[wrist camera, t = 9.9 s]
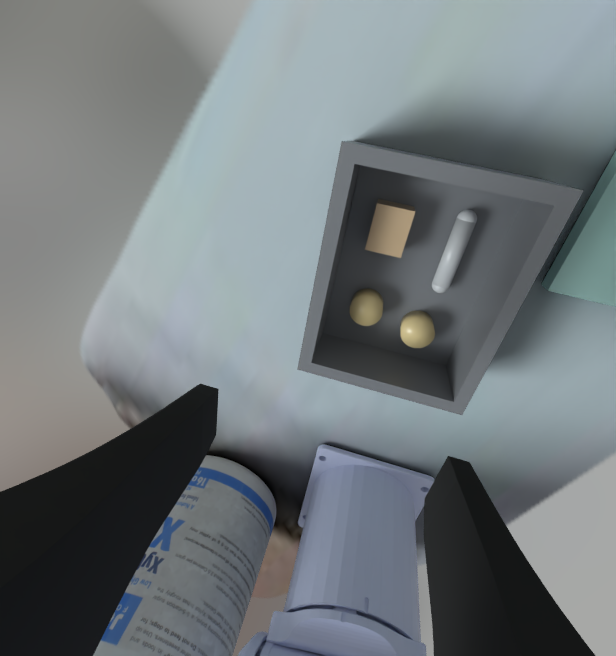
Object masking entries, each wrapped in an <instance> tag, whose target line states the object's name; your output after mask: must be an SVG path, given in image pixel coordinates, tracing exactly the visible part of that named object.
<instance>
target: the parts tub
mask: <svg viewBox="0 0 616 656" xmlns="http://www.w3.org/2000/svg"><path fill="white" fill-rule="evenodd" d="M582 193H583V190H580V189H576V188H573V187H569V186H566V185H562V184H558V183H555V182H551V181H548V180H544V179H539V178H534V177H529V176H525V175H520V174H515V173H510V172H505V171H500V170H495V169H490V168H485V167H480V166H475V165H470V164H465V163H460V162H455V161H450V160H445V159H440V158H435V157H431V156H426V155H421V154H416V153H411V152H406V151H401V150H396V149H391V148H386V147H381V146H376V145H371V144H366V143H361V142H356V141H342V142H341V148H340V153H339V158H338V163H337V168H336V173H335V178H334V184H333V189H332V194H331V199H330V204H329V209H328V215H327V220H326V225H325V230H324V235H323V240H322V245H321V251H320V256H319V261H318V266H317V271H316V276H315V281H314V287H313V292H312V297H311V302H310V307H309V312H308V317H307V323H306V328H305V333H304V338H303V343H302V348H301V354H300V359H299V364H298V370H302V371H305V372H309V373H312V374H316V375H320V376H323V377H327V378H330V379H334V380H338V381H341V382H345V383H348V384H352V385H355V386H359V387H363V388H366V389H370V390H373V391H377V392H381V393H384V394H388V395H391V396H395V397H399V398H402V399H406V400H409V401H413V402H417V403H420V404H424V405H427V406H431V407H435V408H438V409H442V410H445V411H449V412H453V413H456V414H460V415H462V414H463V412H464V411H465V409H466V407H467V405H468V403H469V401H470V400H471V398H472V396H473V394H474V392H475V390H476V388H477V387H478V385H479V383H480V381H481V379H482V377H483V376H484V374H485V372H486V370H487V368H488V366H489V364H490V363H491V361H492V359H493V357H494V355H495V353H496V352H497V350H498V348H499V346H500V344H501V342H502V340H503V339H504V337H505V335H506V333H507V331H508V329H509V328H510V326H511V324H512V322H513V320H514V318H515V316H516V315H517V313H518V311H519V309H520V307H521V305H522V304H523V302H524V300H525V298H526V296H527V294H528V292H529V291H530V289H531V287H532V285H533V283H534V281H535V280H536V278H537V276H538V274H539V272H540V270H541V268H542V267H543V265H544V263H545V261H546V259H547V257H548V256H549V254H550V252H551V250H552V248H553V246H554V244H555V243H556V241H557V239H558V237H559V235H560V233H561V232H562V230H563V228H564V226H565V224H566V222H567V220H568V219H569V217H570V215H571V213H572V211H573V209H574V208H575V206H576V204H577V202H578V200H579V198H580V196H581V195H582Z"/></svg>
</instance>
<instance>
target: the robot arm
mask: <svg viewBox="0 0 616 656" xmlns="http://www.w3.org/2000/svg"><path fill="white" fill-rule="evenodd" d="M217 407H218V389H217V388H213V387H210V386H206V385H203V384H199V385H197V386H196V387H194V388H193V389H191V390H190V391H188V392H187V393H185V394H184V395H183V396H181V397H180V398H178V399H177V400H175V401H174V402H172V403H171V404H169V405H168V406H166V407H165V408H163V409H162V410H160V411H158V412H157V413H155V414H154V415H152V416H151V417H149V418H147V419H146V420H144V421H143V422H141V423H140V424H138V425H136V426H135V427H133V428H131V429H130V430H128V431H126V432H124V433H123V434H121V435H119V436H118V437H116V438H114V439H112V440H111V441H109V442H107V443H105V444H104V445H102V446H100V447H98V448H96V449H94V450H92V451H90V452H89V453H86V454H85V455H83V456H81V457H79V458H77V459H74V460H72V461H70V462H68V463H66V464H64V465H62V466H60V467H58V468H55V469H53V470H51V471H49V472H47V473H44V474H42V475H40V476H37V477H35V478H33V479H30V480H28V481H26V482H24V483H21V484H19V485H17V486H14V487H12V488H9V489H7V490H5V491H2V492H0V656H93V655H94V653H95V651H96V649H97V647H98V645H99V643H100V641H101V639H102V637H103V634H104V632H105V630H106V628H107V626H108V624H109V622H110V620H111V618H112V616H113V614H114V612H115V610H116V608H117V607H118V605H119V603H120V601H121V599H122V597H123V595H124V593H125V591H126V589H127V587H128V585H129V583H130V581H131V579H132V577H133V576H134V574H135V572H136V570H137V568H138V566H139V564H140V562H141V561H142V559H143V557H144V555H145V553H146V551H147V549H148V547H149V546H150V544H151V542H152V541H153V539H154V537H155V536H156V534H157V532H158V531H159V529H160V527H161V526H162V524H163V523H164V521H165V520H166V518H167V517H168V515H169V514H170V512H171V510H172V509H173V507H174V506H175V504H176V503H177V501H178V500H179V498H180V497H181V495H182V494H183V492H184V490H185V489H186V487H187V486H188V484H189V483H190V481H191V480H192V478H193V476H194V475H195V473H196V472H197V470H198V469H199V467H200V465H201V464H202V462H203V460H204V458H205V456H206V454H207V452H208V450H209V448H210V446H211V444H212V442H213V440H214V438H215V436H216V426H217ZM323 456H324V457H323ZM423 507H424V542H425V553H426V564H427V574H428V584H429V594H430V604H431V614H432V624H433V641H434V656H595V655H594V653H593V652H592V651H591V649H590V648H589V647H588V646H587V644H586V643H585V642H584V640H583V639H582V638H581V636H580V635H579V634H578V632H577V631H576V630H575V628H574V627H573V625H572V624H571V623H570V621H569V620H568V619H567V617H566V616H565V615H564V613H563V612H562V611H561V609H560V608H559V607H558V605H557V604H556V602H555V601H554V599H553V598H552V596H551V595H550V594H549V592H548V591H547V589H546V588H545V586H544V585H543V584H542V582H541V580H540V579H539V577H538V576H537V574H536V573H535V571H534V570H533V568H532V567H531V565H530V564H529V562H528V561H527V559H526V558H525V556H524V554H523V553H522V551H521V550H520V548H519V547H518V545H517V543H516V542H515V540H514V539H513V537H512V535H511V533H510V532H509V530H508V528H507V527H506V525H505V523H504V522H503V520H502V518H501V517H500V515H499V513H498V512H497V510H496V508H495V506H494V505H493V503H492V501H491V499H490V498H489V496H488V494H487V492H486V491H485V489H484V487H483V485H482V483H481V482H480V480H479V478H478V476H477V475H476V473H475V471H474V469H473V468H472V466H471V464H470V462H467V461H463V460H460V459H457V458H453V457H450V456H448V457H447V459H446V461H445V463H444V465H443V466H442V468H441V470H440V472H439V474H438V475H437V477H436V479H435V480H434V478H433V477H431V476H429V475H426V474H422V473H419V472H415V471H412V470H409V469H405V468H402V467H399V466H395V465H392V464H389V463H385V462H382V461H379V460H375V459H372V458H369V457H365V456H362V455H359V454H355V453H352V452H349V451H345V450H342V449H339V448H335V447H332V446H329V445H324V444H323V445H320V446H319V447H318V449H317V453H316V457H315V460H314V464H313V468H312V472H311V475H310V479H309V483H308V486H307V490H306V494H305V497H304V501H303V505H302V508H301V512H300V516H299V520H298V524H299V526H300V527H302V528H303V532H302V536H301V540H300V544H299V548H298V553H297V557H296V561H295V565H294V569H293V574H292V578H291V582H290V586H289V590H288V594H287V599H286V603H285V607H284V611H283V612H279V611H274V612H273V616H272V620H271V624H270V628H269V631H268V633H267V632H258V633H256V635H254V636H253V637H252V638H251V640H250V641H249V642H248V643H247V644H246V645H245V646H244V647H243V648H242V650H241V651H240V652H239V654H238V656H426V646H425V644H424V643H421V635H420V615H419V593H418V574H417V573H418V572H417V551H416V530H415V521H416V519H417V517H418V516H419V514H420V512H421V510H422V508H423Z"/></svg>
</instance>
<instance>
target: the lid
mask: <svg viewBox="0 0 616 656" xmlns="http://www.w3.org/2000/svg"><path fill="white" fill-rule="evenodd" d="M542 285H543V286H544V288H545V289H546V290H547V291H551V292H555V293H559V294H563V295H568V296H572V297H576V298H580V299H585V300H589V301H593V302H597V303H601V304H606V305H610V306H614V307H616V151H615V153H614V155H613V156H612V158H611V160H610V162H609V164H608V165H607V167H606V169H605V171H604V173H603V174H602V176H601V178H600V180H599V182H598V183H597V185H596V187H595V189H594V191H593V192H592V194H591V196H590V198H589V200H588V201H587V203H586V205H585V207H584V209H583V210H582V212H581V214H580V216H579V218H578V219H577V221H576V223H575V225H574V227H573V228H572V230H571V232H570V234H569V235H568V237H567V239H566V241H565V243H564V244H563V246H562V248H561V250H560V252H559V253H558V255H557V257H556V259H555V261H554V262H553V264H552V266H551V268H550V270H549V271H548V273H547V275H546V277H545V279H544V280H543V282H542Z"/></svg>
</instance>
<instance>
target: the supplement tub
mask: <svg viewBox="0 0 616 656" xmlns="http://www.w3.org/2000/svg"><path fill="white" fill-rule="evenodd" d="M275 519H276V503H275V500H274V497H273V495H272V493H271V491H270V490H269V488H268V487H267V485H266V484H265V483H264V482H263V481H262V480H261V479H260V478H259V477H258V476H257V475H256V474H254V473H253V472H252V471H250V470H249V469H247V468H246V467H244V466H242V465H240V464H238V463H236V462H234V461H231V460H228V459H225V458H221V457H217V456H210V455H206V456H205V458H204V460H203V462H202V464H201V465H200V467H199V469H198V470H197V472H196V473H195V475H194V476H193V478H192V480H191V481H190V483H189V484H188V486H187V487H186V489H185V490H184V492H183V494H182V495H181V497H180V498H179V500H178V501H177V503H176V504H175V506H174V507H173V509H172V510H171V512H170V514H169V515H168V517H167V518H166V520H165V521H164V523H163V524H162V526H161V527H160V529H159V531H158V532H157V534H156V536H155V537H154V539H153V541H152V542H151V544H150V546H149V547H148V549H147V551H146V553H145V555H144V557H143V559H142V561H141V562H140V564H139V566H138V568H137V570H136V572H135V574H134V576H133V577H132V579H131V581H130V583H129V585H128V587H127V589H126V591H125V593H124V595H123V597H122V599H121V601H120V603H119V605H118V607H117V608H116V610H115V612H114V614H113V616H112V618H111V620H110V622H109V624H108V626H107V628H106V630H105V632H104V634H103V637H102V639H101V641H100V643H99V645H98V647H97V649H96V651H95V653H94V655H93V656H232V655H233V652H234V649H235V645H236V642H237V639H238V636H239V633H240V629H241V626H242V623H243V620H244V617H245V614H246V611H247V608H248V605H249V602H250V598H251V595H252V592H253V589H254V586H255V583H256V580H257V577H258V573H259V570H260V567H261V564H262V561H263V558H264V555H265V552H266V549H267V545H268V542H269V539H270V536H271V533H272V529H273V526H274V523H275Z"/></svg>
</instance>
